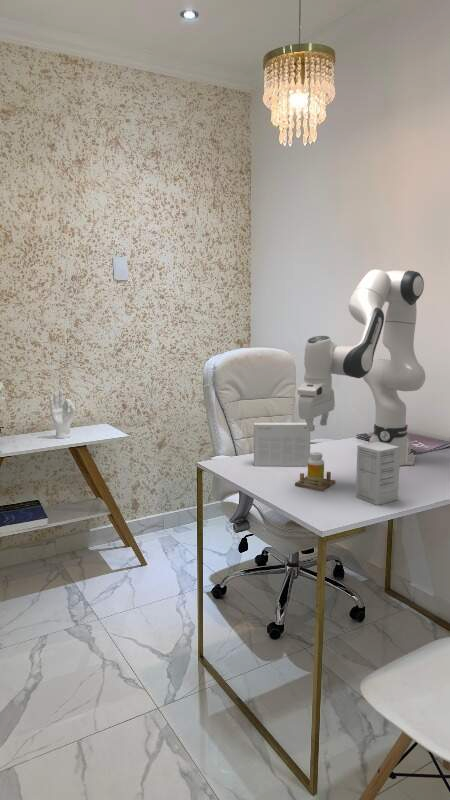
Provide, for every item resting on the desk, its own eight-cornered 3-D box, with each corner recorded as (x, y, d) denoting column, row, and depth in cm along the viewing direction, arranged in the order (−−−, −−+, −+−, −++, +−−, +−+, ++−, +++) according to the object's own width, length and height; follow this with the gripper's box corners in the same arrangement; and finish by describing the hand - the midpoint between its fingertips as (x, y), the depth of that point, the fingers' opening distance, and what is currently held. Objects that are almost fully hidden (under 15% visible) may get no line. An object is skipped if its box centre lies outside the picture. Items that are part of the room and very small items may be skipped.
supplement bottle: (323, 484, 183) (324, 455, 181) (306, 483, 184) (307, 455, 182) (323, 479, 188) (324, 451, 186) (307, 478, 189) (308, 450, 187)
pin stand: (308, 478, 193) (308, 467, 192) (335, 483, 187) (335, 471, 187) (294, 485, 185) (295, 474, 184) (322, 491, 179) (323, 479, 178)
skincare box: (308, 462, 212) (309, 422, 210) (310, 466, 207) (311, 425, 204) (253, 462, 213) (253, 421, 210) (253, 466, 207) (254, 424, 205)
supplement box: (398, 500, 171) (401, 446, 168) (378, 505, 166) (380, 451, 163) (375, 491, 179) (377, 440, 176) (354, 496, 174) (356, 444, 171)
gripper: (322, 381, 191) (321, 421, 193) (294, 390, 174) (294, 433, 176) (339, 383, 187) (338, 423, 190) (313, 391, 171) (312, 435, 173)
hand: (317, 428), depth 183 cm, fingers open, 8 cm apart
